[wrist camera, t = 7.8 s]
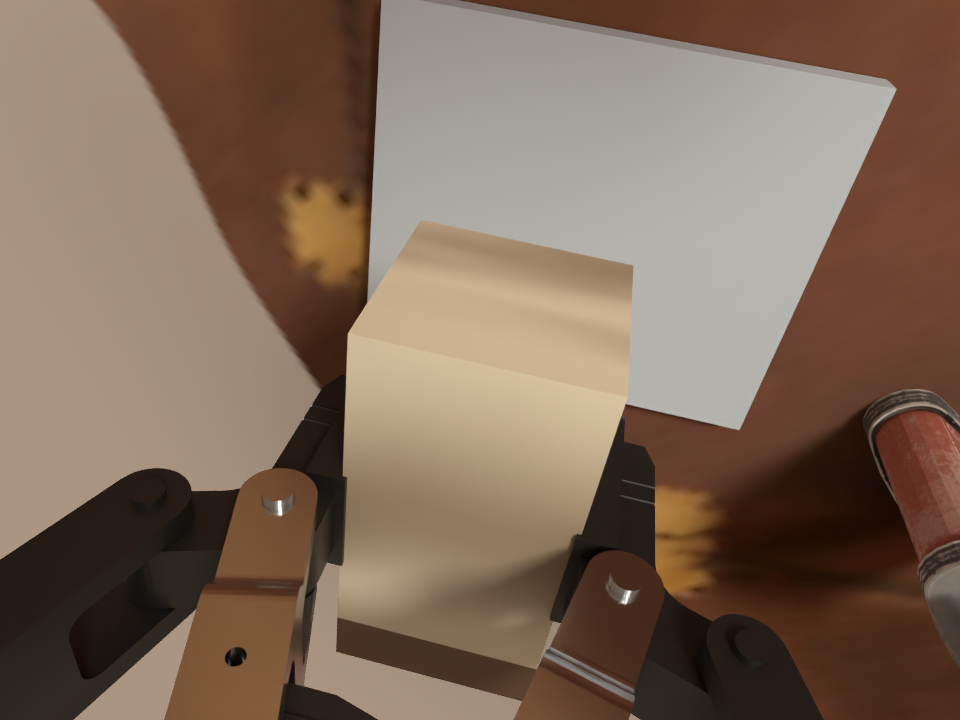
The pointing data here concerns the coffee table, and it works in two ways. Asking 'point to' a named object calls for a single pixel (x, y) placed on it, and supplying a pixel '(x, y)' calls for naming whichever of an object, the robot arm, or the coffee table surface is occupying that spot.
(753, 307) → the mat
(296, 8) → the coffee table surface
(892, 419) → the lighter
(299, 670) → the robot arm
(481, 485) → the block
